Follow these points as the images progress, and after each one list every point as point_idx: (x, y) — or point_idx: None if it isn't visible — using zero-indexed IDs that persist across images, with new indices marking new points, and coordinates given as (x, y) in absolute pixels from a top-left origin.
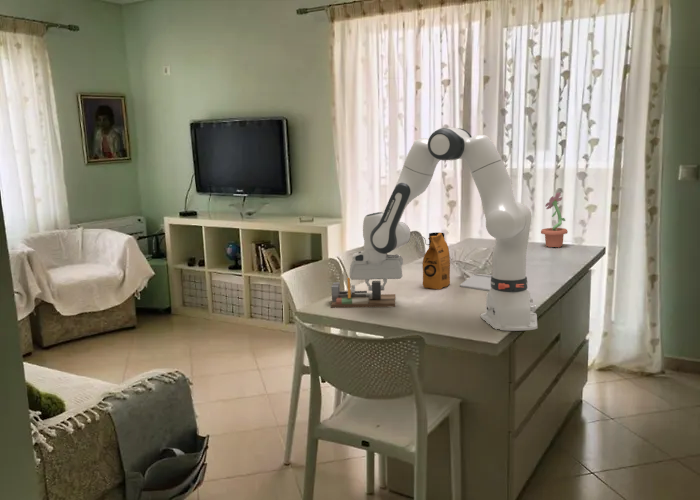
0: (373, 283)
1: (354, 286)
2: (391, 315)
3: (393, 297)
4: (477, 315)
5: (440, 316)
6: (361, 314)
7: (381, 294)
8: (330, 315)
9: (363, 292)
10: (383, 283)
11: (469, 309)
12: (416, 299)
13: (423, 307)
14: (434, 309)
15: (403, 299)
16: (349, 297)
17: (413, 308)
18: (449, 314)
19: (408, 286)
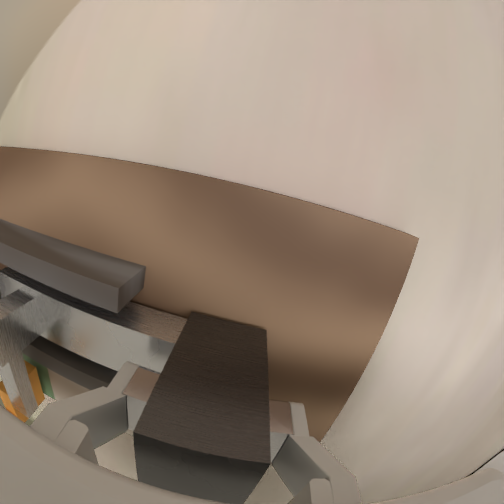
0: (159, 483)
1: (3, 366)
2: (252, 498)
3: (368, 337)
4: (461, 476)
5: (392, 497)
6: (135, 463)
7: (301, 204)
8: (35, 418)
9: (94, 299)
10: (302, 448)
11: (489, 443)
12: (475, 325)
13: (416, 444)
14: (428, 457)
15: (426, 311)
16: (37, 398)
17: (376, 455)
18: (423, 484)
19: (490, 24)
